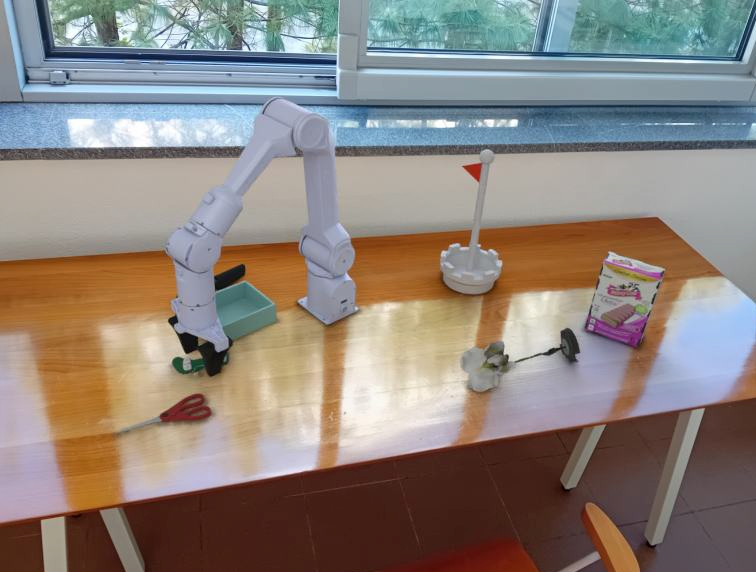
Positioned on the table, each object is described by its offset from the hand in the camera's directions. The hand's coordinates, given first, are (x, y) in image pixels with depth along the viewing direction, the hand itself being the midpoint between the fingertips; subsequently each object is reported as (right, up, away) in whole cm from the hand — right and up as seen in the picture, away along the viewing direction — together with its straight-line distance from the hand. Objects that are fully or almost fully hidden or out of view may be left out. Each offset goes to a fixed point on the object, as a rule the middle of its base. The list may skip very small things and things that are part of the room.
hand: (202, 362), depth 124 cm
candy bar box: (+75, +3, +21) cm, 78 cm away
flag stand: (+47, +13, +33) cm, 59 cm away
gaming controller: (0, -1, +1) cm, 2 cm away
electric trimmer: (-4, +11, +20) cm, 24 cm away
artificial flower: (+55, -3, +8) cm, 56 cm away
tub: (+2, +6, +13) cm, 14 cm away
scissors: (-3, -8, -10) cm, 13 cm away
